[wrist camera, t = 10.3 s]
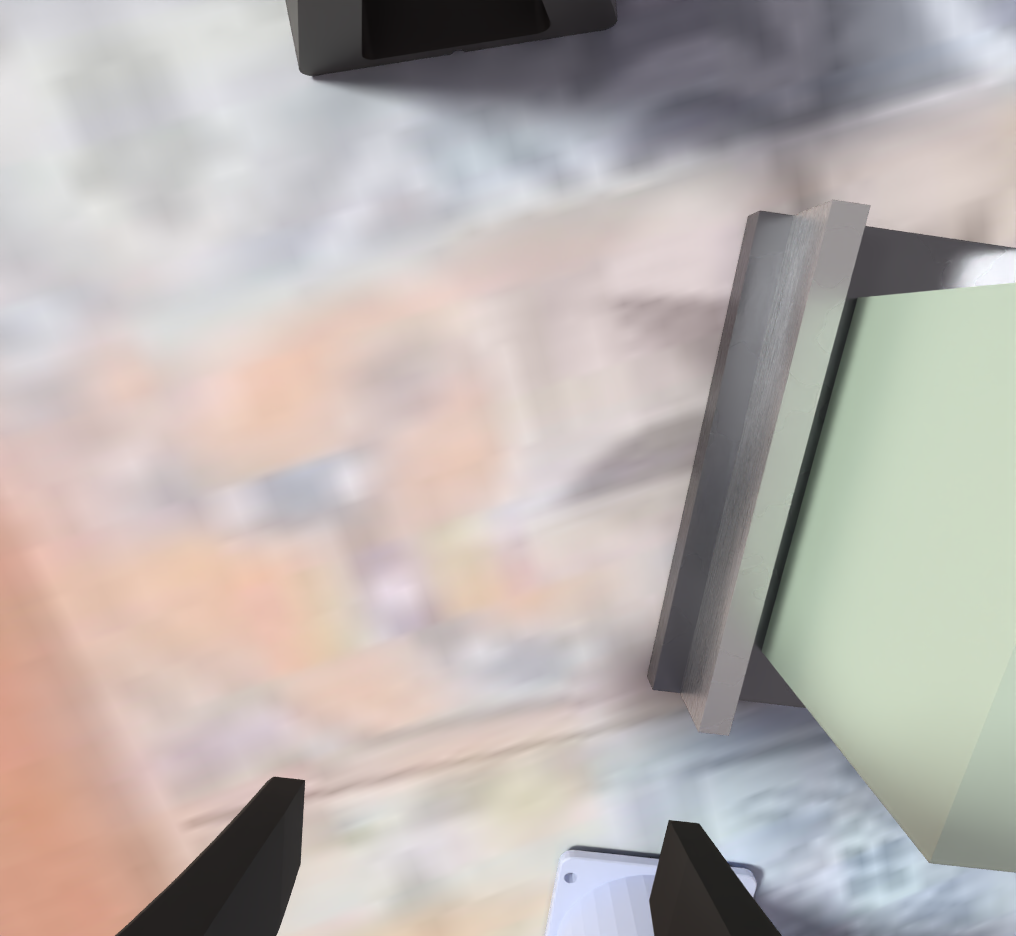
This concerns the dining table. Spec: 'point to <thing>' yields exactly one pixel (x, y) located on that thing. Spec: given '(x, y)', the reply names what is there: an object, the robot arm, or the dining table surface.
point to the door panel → (915, 569)
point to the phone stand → (429, 28)
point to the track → (777, 434)
